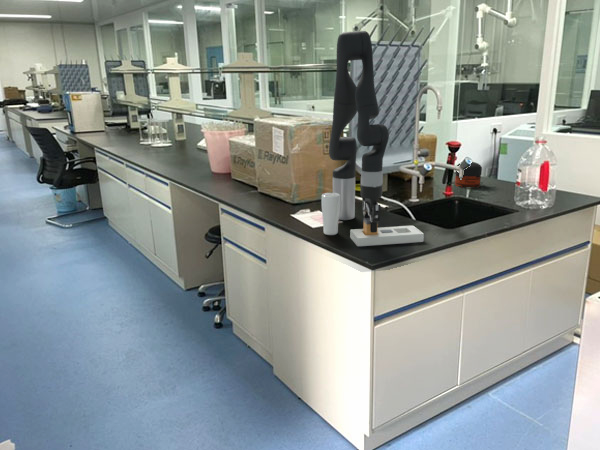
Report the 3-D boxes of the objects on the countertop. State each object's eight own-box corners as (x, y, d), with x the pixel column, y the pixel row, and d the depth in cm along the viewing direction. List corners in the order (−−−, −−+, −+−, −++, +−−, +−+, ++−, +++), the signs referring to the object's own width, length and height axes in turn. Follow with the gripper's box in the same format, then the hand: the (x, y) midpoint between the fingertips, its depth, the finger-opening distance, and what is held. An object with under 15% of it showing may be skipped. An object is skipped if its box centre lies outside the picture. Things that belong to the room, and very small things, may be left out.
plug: (363, 239, 172) (363, 218, 170) (373, 238, 173) (374, 217, 170) (366, 242, 168) (366, 221, 166) (377, 242, 169) (377, 220, 167)
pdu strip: (350, 237, 174) (350, 228, 173) (412, 233, 178) (413, 224, 177) (357, 246, 165) (357, 237, 164) (423, 241, 168) (423, 232, 167)
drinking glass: (338, 230, 182) (338, 192, 178) (340, 236, 176) (340, 196, 172) (320, 230, 182) (320, 192, 178) (322, 236, 176) (322, 197, 171)
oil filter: (470, 182, 261) (449, 184, 258) (472, 159, 258) (451, 161, 254) (485, 186, 249) (464, 189, 246) (487, 163, 246) (466, 165, 242)
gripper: (355, 179, 171) (354, 223, 175) (367, 188, 157) (365, 235, 162) (375, 178, 172) (374, 222, 176) (388, 187, 158) (387, 234, 163)
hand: (370, 228), depth 169 cm, fingers open, 7 cm apart
